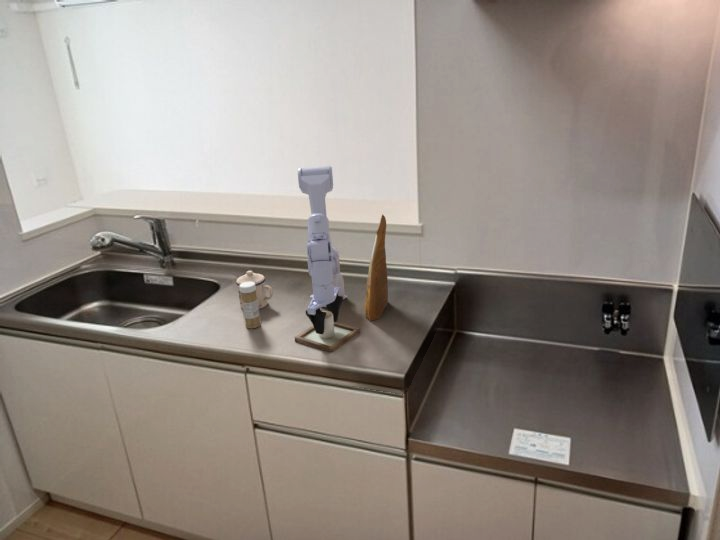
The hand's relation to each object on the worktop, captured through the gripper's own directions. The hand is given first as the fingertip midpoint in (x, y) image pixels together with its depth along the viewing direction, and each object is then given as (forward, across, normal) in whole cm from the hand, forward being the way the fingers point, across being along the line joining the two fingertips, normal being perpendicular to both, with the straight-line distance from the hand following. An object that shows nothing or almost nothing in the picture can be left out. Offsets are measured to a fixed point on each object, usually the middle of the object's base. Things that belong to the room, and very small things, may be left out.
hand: (326, 327), depth 158 cm
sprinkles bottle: (+3, +2, -25) cm, 25 cm away
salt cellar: (+2, 0, 0) cm, 3 cm away
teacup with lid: (+3, -11, -32) cm, 34 cm away
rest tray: (+3, 0, 0) cm, 3 cm away
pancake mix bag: (+3, -21, +6) cm, 22 cm away
